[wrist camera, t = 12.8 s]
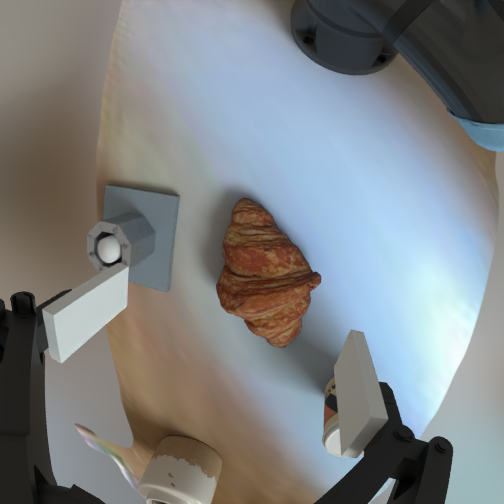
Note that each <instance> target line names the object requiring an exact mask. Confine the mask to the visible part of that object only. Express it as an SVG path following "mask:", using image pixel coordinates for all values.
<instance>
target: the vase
mask: <svg viewBox="0 0 504 504" xmlns="http://www.w3.org/2000/svg"><path fill="white" fill-rule="evenodd" d="M221 468H222V459H221V457H220V455H219V454H218V453H217V452H216V451H215V450H214V449H212V448H211V447H209V446H208V445H206V444H204V443H202V442H200V441H197V440H195V439H192V438H188V437H183V436H168V437H165V438H163V439H162V440H161V441H160V443H159V445H158V446H157V448H156V450H155V452H154V454H153V456H152V458H151V460H150V462H149V464H148V466H147V468H146V470H145V472H144V474H143V476H142V477H141V479H140V481H139V483H138V491H139V493H140V494H141V495H142V496H143V497H144V498H145V499H146V503H147V504H211V502H212V499H213V495H214V492H215V489H216V485H217V482H218V479H219V475H220V472H221Z"/></svg>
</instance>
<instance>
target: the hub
mask: <svg viewBox="0 0 504 504" xmlns="http://www.w3.org/2000/svg"><path fill="white" fill-rule="evenodd" d="M113 234H115V236H116V237H117V239H118V240H119V242H120V244H121V245H122V257H121V258H119V259H117V260H115V261H114V262H112V263H107V262H105V261H103V260H102V259H101V258H100V256H99V254H98V243H99V241H100V240H101V239H103V238H106V237H108V236H111V235H113ZM155 239H156V232H155V230H154V229H153V227H152V226H151V224H150V223H149V221H148V220H147V218H146V217H145V216H143V215H137V214H132V213H125V214H122V215H118V216H115V217H111V218H108V219H105V220H101V221H99V222H98V223H97V224H96V225H95V226H94V227H93V228H92V230H91V231H90V232H89V233H88V234H87V256H88V257H89V259H90V261H91V262H92V264H93V265H94V267H95V268H96V270H97V271H98V273H102V272H104V271H105V270H107V269H109V268H110V267H112V266H114V265H116V264H117V263H120V264H123V265H126V266H129V270H131V269H132V268H134V267H135V266H137V265H139V264H140V263H142V262H143V261H144V260H145V259H147V258H148V257H149V256H150V255H152V254H153V253H154V252H155Z"/></svg>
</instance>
